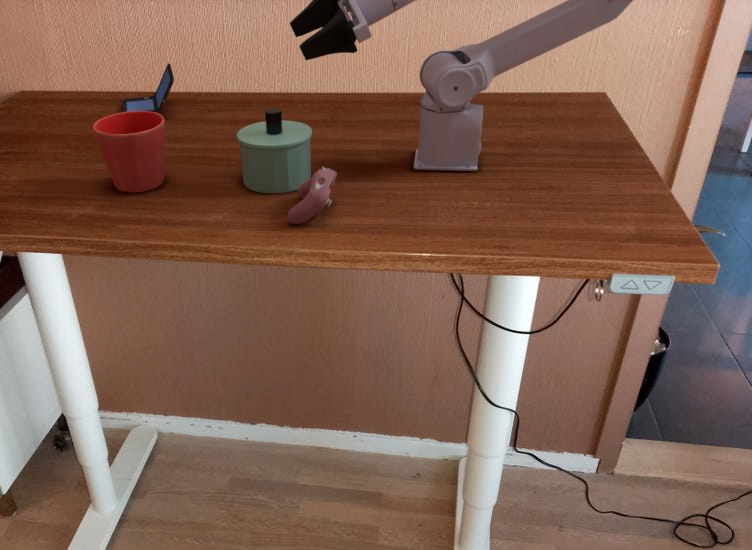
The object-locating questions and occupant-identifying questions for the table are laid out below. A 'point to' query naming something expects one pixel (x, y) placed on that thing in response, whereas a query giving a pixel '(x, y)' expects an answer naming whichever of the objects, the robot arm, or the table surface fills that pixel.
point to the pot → (276, 168)
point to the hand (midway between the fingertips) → (297, 41)
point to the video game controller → (313, 196)
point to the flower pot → (133, 149)
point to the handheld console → (155, 101)
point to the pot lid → (274, 132)
